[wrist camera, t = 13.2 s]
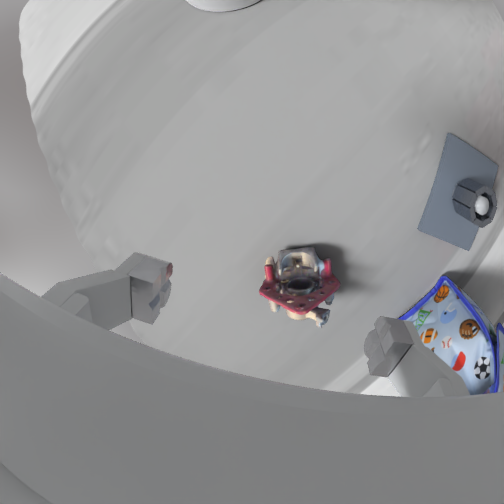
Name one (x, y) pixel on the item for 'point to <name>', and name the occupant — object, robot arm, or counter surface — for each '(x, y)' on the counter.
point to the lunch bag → (461, 336)
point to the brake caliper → (300, 284)
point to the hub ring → (473, 201)
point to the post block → (440, 200)
